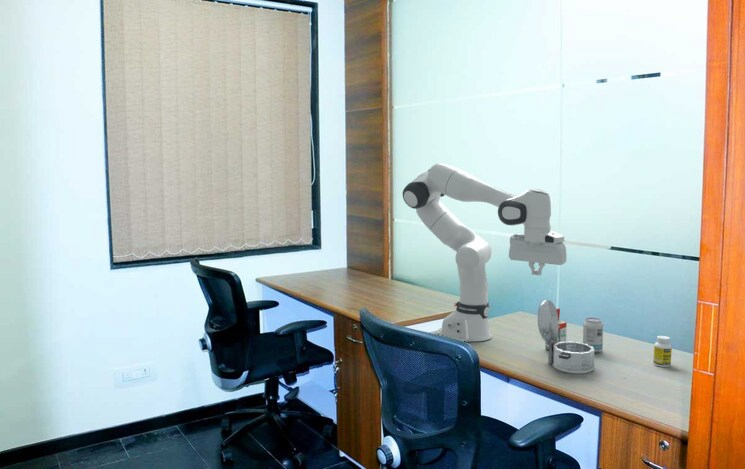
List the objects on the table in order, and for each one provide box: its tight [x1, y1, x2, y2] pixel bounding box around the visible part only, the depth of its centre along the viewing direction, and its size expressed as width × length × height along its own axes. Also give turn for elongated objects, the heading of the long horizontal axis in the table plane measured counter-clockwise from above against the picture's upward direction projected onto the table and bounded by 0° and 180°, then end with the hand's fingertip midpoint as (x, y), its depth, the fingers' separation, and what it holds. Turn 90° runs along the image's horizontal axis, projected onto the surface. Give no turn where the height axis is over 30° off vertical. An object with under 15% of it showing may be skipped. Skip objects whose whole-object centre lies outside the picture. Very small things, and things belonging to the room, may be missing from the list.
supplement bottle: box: [652, 335, 673, 368], centre depth 205 cm, size 5×5×10 cm
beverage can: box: [582, 317, 604, 354], centre depth 220 cm, size 7×7×12 cm
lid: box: [537, 299, 558, 345], centre depth 209 cm, size 15×15×4 cm
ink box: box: [544, 308, 568, 351], centre depth 224 cm, size 4×8×15 cm, turn 123°
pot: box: [547, 340, 595, 375], centre depth 205 cm, size 15×17×7 cm
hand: (536, 274), depth 210 cm, fingers closed
